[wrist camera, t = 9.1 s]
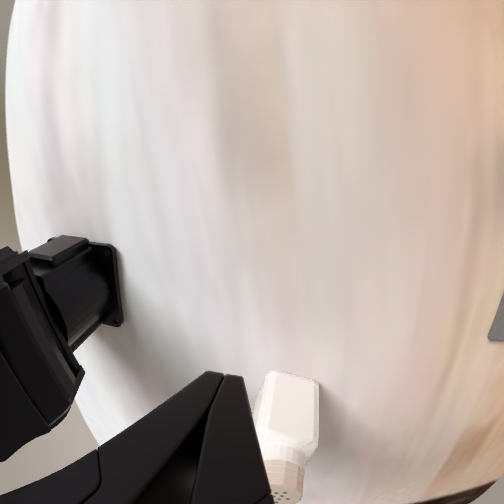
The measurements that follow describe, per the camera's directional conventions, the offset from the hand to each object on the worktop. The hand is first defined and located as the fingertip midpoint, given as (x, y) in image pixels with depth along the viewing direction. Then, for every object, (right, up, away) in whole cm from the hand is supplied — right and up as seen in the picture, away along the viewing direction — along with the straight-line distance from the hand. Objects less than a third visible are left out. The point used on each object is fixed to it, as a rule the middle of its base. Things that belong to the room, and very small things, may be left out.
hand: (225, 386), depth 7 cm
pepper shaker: (+3, -7, +16) cm, 18 cm away
